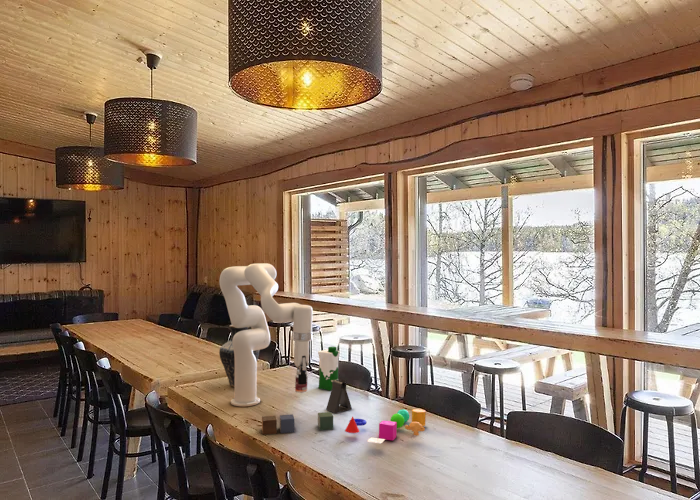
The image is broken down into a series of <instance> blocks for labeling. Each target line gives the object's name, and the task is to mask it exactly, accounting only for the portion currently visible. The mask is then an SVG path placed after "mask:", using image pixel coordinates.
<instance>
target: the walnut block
mask: <svg viewBox="0 0 700 500" xmlns="http://www.w3.org/2000/svg"><path fill="white" fill-rule="evenodd" d="M277 427H278V420H277V416H276V415H264V416H261V433H262V435H263V436H265V435H275V434H278V433H277V432H278V431H277V429H278V428H277Z"/></svg>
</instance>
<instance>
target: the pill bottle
mask: <svg viewBox="0 0 700 500" xmlns="http://www.w3.org/2000/svg"><path fill="white" fill-rule="evenodd" d="M298 374H299V369H298V370H297V369H296V375H295V380H294V381H295V382H294V383H295V384H294V385H295V386H294V388H295V389H294V390H295V392H296V393H299V394H303V393H307V392H308V382H307V383H306V384H298ZM308 377H309V376H308V375H307V380H308Z"/></svg>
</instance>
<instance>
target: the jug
mask: <svg viewBox="0 0 700 500" xmlns="http://www.w3.org/2000/svg"><path fill="white" fill-rule="evenodd" d="M229 329H230V339H229V340H228V341H226V342H225V343H224V344H222V345H221V346H220V347H219V352H218V353H219V354H218V355H219V359H220V361H221V364H222V366H223V368H224V371H225V374H226V377H227V379H228V383H229V386H230V387H233V388H235V357H234V349H233V343H232V340H233V337H234V335H235V334H236V333H237V332H239V331H243V330H249V329H250V327H245V328H235V327H234V326H233V325H232V324H229ZM260 351H261V349H260V350H255V351H253V354H254V356H255V358H256V361H257V362H258V360H259V355H260Z"/></svg>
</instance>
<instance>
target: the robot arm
mask: <svg viewBox="0 0 700 500" xmlns="http://www.w3.org/2000/svg"><path fill="white" fill-rule="evenodd" d="M276 278H277V270H276V268H275V266H274V265H272V264H271V263H267V262H265V263H263V262H262V263H260V262H259V263H251V264H249V265H237V266H235V265H233V266H229V267H225V268H224V269H223V270H222V271H221V273H220V275H219V288H220V291H221V293H222V296H223V298H224V300H225V304H226V308H227V312H228V316H229V319H230V323H231V325H233V326H234V327H235V328H245V327H249V330H243V331H239V332H237V333H236V334H235V335H234V337H233V340H232V343H233V349H234V357H235V387H233V389H234V394H233V395H234V396H233V398H232V399H230V404H231V405H232V406H234V407H242V408H243V407H252V406H256V405H259V404H260V403H261V398H260V397H259V396H258V394H257V393H258V391H257V387H258V360H257V361H256V358H255V356H254V354H253V351H255V350H260V351H261V350H264V349H266V348H268V347H269V346H270V343H271V333H270V329H269V325H268V323H267V318H266V316H267V317H268V319H270V320H271V321H273V322H274V323H277V324H283V323H289V322H290V323H291V322H292V324H293V325H292V327H293V328H292V341H294V347H293V348H294V349H293V363H294V365H295V367H296V371H297V370H298V369H299V374H298V384H306V383H307V384H308V379H307V376H308V374H307V373H308V370H307V367H309V363H310V342H312V341H313V315H314V314H313V313H314V312H313V310H314V309H313V307H312V306H311V305H309V304H301V303H298V302H285V303H279V302H277V301H276V299H274V296H275V295H276V293H277V292H278V290H279V283H278V282H276V281H275V280H276ZM238 286H252V287H253V289H254V290H255V291H256V292H257V293H258V294H259V295H260V304H261V305H260V306H261V307H260V306H258V305H257V304H253V305H252V304H251V305H248V304H247V300H246V297H245V294H244V293H243V291H242V290H241V289H240V288H239V287H238ZM265 314H266V315H265Z"/></svg>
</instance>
